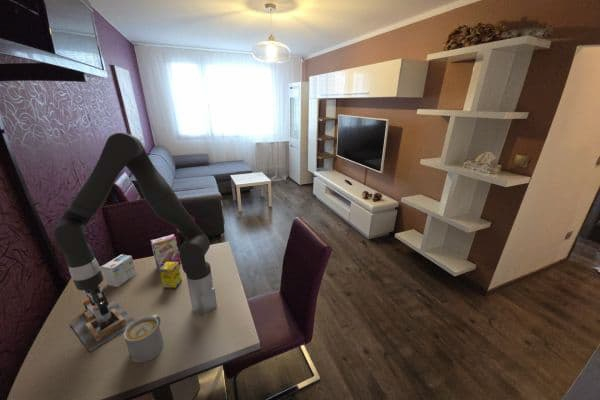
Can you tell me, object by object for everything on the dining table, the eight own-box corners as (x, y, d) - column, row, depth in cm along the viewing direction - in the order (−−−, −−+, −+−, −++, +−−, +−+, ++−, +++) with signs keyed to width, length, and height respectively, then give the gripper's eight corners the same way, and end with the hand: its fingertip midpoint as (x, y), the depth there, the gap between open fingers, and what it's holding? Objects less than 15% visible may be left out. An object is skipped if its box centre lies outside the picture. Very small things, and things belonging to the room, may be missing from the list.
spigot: (116, 326, 95) (108, 302, 91) (103, 334, 92) (94, 310, 88) (111, 320, 97) (103, 297, 93) (98, 328, 94) (89, 305, 90)
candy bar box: (158, 272, 127) (151, 244, 121) (156, 267, 130) (149, 240, 124) (181, 263, 133) (176, 237, 127) (178, 259, 137) (173, 233, 131)
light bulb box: (126, 271, 127) (121, 253, 123) (137, 273, 125) (132, 255, 121) (106, 285, 117) (100, 266, 113) (118, 287, 116) (111, 268, 112)
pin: (104, 315, 99) (101, 307, 98) (94, 320, 97) (91, 312, 95) (94, 303, 105) (91, 296, 103) (84, 308, 102) (81, 300, 101)
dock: (136, 322, 97) (134, 314, 96) (90, 352, 86) (86, 342, 84) (114, 301, 108) (111, 293, 106) (70, 324, 96) (66, 316, 94)
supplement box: (176, 288, 115) (172, 269, 111) (163, 288, 115) (159, 269, 111) (182, 280, 121) (178, 261, 117) (170, 280, 121) (166, 261, 117)
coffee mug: (148, 365, 81) (141, 343, 78) (123, 358, 83) (116, 337, 80) (176, 331, 93) (171, 311, 90) (154, 326, 96) (148, 306, 92)
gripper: (107, 273, 84) (120, 310, 90) (91, 260, 92) (104, 295, 97) (80, 286, 78) (96, 324, 84) (65, 271, 86) (80, 307, 92)
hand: (100, 309), depth 91 cm, fingers open, 8 cm apart
